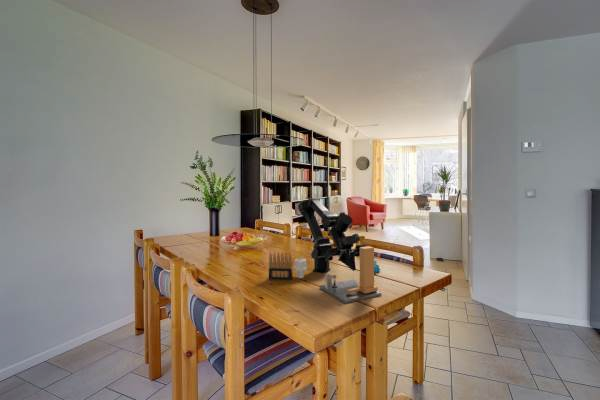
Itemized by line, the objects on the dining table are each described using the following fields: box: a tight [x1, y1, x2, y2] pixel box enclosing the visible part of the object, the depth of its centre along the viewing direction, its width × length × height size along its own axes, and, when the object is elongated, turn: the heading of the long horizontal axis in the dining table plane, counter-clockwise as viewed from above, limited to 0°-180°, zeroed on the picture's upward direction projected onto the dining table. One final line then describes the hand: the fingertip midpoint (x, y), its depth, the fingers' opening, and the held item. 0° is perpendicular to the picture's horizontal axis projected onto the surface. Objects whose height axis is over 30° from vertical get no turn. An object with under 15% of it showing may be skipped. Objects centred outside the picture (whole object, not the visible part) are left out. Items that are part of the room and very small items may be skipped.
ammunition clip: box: [268, 252, 294, 281], centre depth 129 cm, size 11×2×12 cm, turn 82°
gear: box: [374, 260, 381, 274], centre depth 140 cm, size 11×6×10 cm
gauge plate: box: [319, 274, 382, 304], centre depth 113 cm, size 18×16×6 cm
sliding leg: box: [347, 245, 378, 294], centre depth 109 cm, size 5×12×16 cm, turn 116°
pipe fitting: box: [292, 257, 309, 279], centre depth 132 cm, size 6×7×8 cm
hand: (354, 270), depth 118 cm, fingers closed
